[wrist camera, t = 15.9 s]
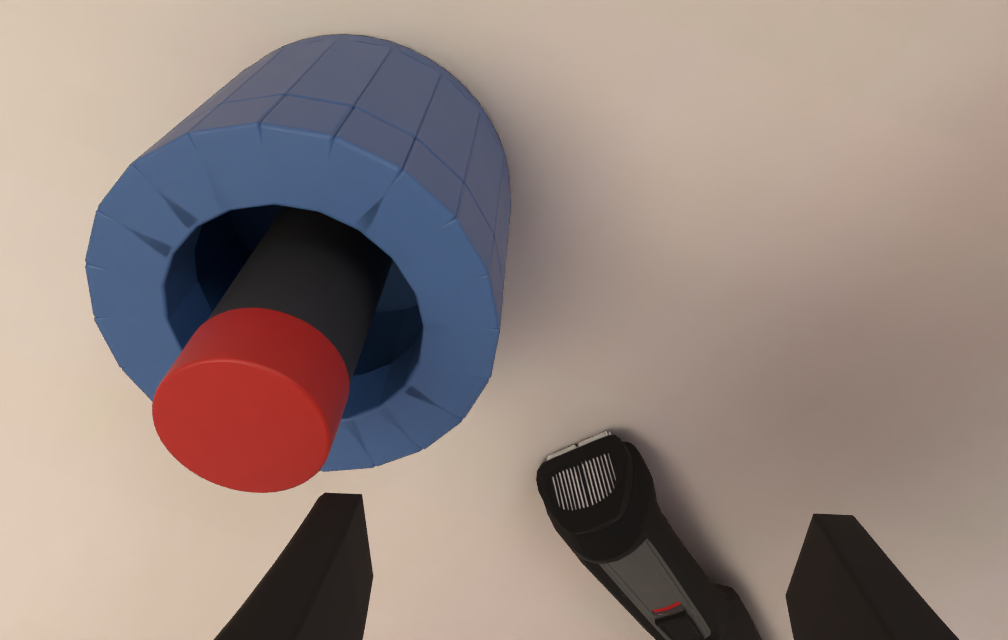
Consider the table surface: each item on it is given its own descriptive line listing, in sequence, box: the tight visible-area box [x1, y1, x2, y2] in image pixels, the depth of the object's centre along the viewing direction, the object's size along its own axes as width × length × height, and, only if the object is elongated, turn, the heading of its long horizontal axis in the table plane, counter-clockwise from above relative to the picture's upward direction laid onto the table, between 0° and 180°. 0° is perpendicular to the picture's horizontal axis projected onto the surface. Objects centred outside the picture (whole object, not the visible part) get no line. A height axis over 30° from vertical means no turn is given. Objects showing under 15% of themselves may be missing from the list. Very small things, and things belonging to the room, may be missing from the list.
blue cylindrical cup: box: [85, 34, 511, 472], centre depth 17 cm, size 8×8×6 cm
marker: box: [152, 206, 393, 493], centre depth 16 cm, size 3×3×9 cm
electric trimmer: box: [536, 430, 762, 640], centre depth 27 cm, size 4×16×3 cm, turn 32°
